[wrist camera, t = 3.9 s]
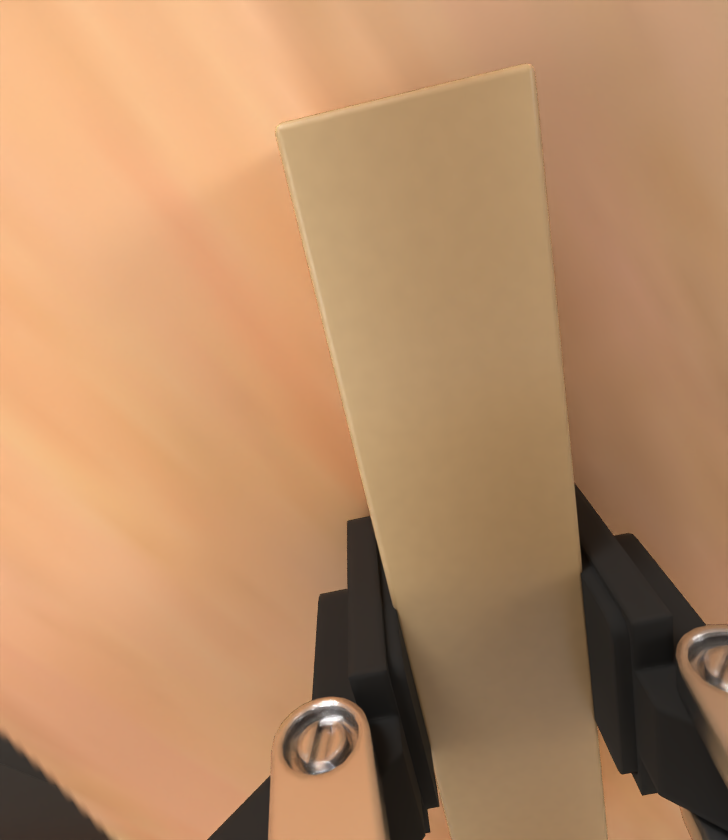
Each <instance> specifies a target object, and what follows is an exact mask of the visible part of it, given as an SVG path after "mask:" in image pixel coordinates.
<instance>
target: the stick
mask: <svg viewBox="0 0 728 840" xmlns="http://www.w3.org/2000/svg"><path fill="white" fill-rule="evenodd" d="M275 136H276V140H277V144H278V148H279V152H280V156H281V160H282V164H283V168H284V172H285V176H286V180H287V184H288V188H289V192H290V196H291V200H292V204H293V208H294V212H295V216H296V220H297V224H298V228H299V232H300V236H301V240H302V244H303V248H304V252H305V256H306V260H307V264H308V268H309V272H310V276H311V280H312V284H313V288H314V292H315V296H316V300H317V304H318V308H319V312H320V316H321V320H322V324H323V328H324V332H325V336H326V340H327V344H328V348H329V352H330V356H331V360H332V364H333V368H334V372H335V376H336V380H337V384H338V388H339V392H340V396H341V400H342V404H343V408H344V412H345V416H346V420H347V424H348V428H349V432H350V436H351V440H352V444H353V448H354V452H355V456H356V460H357V464H358V468H359V472H360V476H361V480H362V484H363V488H364V492H365V496H366V500H367V504H368V508H369V512H370V516H371V520H372V524H373V528H374V532H375V536H376V540H377V544H378V548H379V552H380V556H381V560H382V564H383V568H384V572H385V576H386V580H387V584H388V588H389V592H390V596H391V600H392V604H393V607H394V608H395V609H396V610H397V614H398V618H399V622H400V626H401V630H402V634H403V638H404V642H405V646H406V650H407V654H408V658H409V662H410V666H411V670H412V674H413V678H414V682H415V686H416V691H417V695H418V699H419V703H420V707H421V711H422V715H423V719H424V723H425V727H426V731H427V735H428V739H429V743H430V747H431V752H432V759H433V766H434V772H435V776H436V780H437V784H438V788H439V792H440V796H441V800H442V805H443V809H444V813H445V817H446V821H447V825H448V829H449V833H450V837H451V840H608V834H607V823H606V813H605V802H604V792H603V781H602V770H601V760H600V749H599V739H598V728H597V723H596V721H595V717H594V706H593V696H592V686H591V675H590V665H589V655H588V644H587V634H586V624H585V613H584V603H583V593H582V582H581V573H582V560H581V550H580V539H579V529H578V518H577V508H576V497H575V486H574V476H573V465H572V455H571V444H570V434H569V423H568V413H567V402H566V392H565V381H564V371H563V360H562V350H561V339H560V329H559V318H558V308H557V297H556V287H555V276H554V266H553V255H552V245H551V234H550V223H549V213H548V202H547V192H546V181H545V171H544V160H543V150H542V139H541V129H540V118H539V108H538V97H537V87H536V76H535V70H534V68H533V66H532V65H531V64H526V63H525V64H520V65H516V66H512V67H508V68H504V69H500V70H496V71H492V72H488V73H484V74H479V75H475V76H471V77H467V78H463V79H459V80H455V81H451V82H447V83H443V84H438V85H434V86H430V87H426V88H422V89H418V90H414V91H410V92H406V93H402V94H397V95H393V96H389V97H385V98H381V99H377V100H373V101H369V102H365V103H361V104H356V105H352V106H348V107H344V108H340V109H336V110H332V111H328V112H324V113H319V114H315V115H311V116H307V117H303V118H299V119H295V120H291V121H287V122H283V123H280V124H279V125H278V126H277V127H276V131H275Z"/></svg>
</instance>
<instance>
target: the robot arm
mask: <svg viewBox="0 0 728 840" xmlns="http://www.w3.org/2000/svg"><path fill="white" fill-rule="evenodd" d="M574 486H575V497H576V508H577V518H578V529H579V539H580V550H581V560H582V573H581V582H582V593H583V603H584V613H585V624H586V634H587V644H588V655H589V665H590V675H591V686H592V696H593V706H594V717H595V721H596V723H597V726H598V728H599V730H600V732H601V734H602V736H603V739H604V741H605V743H606V745H607V747H608V750H609V752H610V754H611V756H612V758H613V761H614V763H615V765H616V767H617V769H618V771H619V772H620V773H621V774H627V773H632V775H633V777H634V779H635V781H636V783H637V786H638V788H639V790H640V792H641V794H642V795H648V794H654V793H658V794H659V795H660V796H662V797H664V798H666V799H668V800H669V801H671V802H673V803H675V804H677V805H679V806H680V810H681V814H682V818H683V820H684V823H685V825H686V827H687V830H688V832H689V834H690V837H691V839H692V840H728V625H727V624H717V625H706V624H705V623H704V622H703V621H702V619H701V618H700V617H699V616H698V614H697V613H696V612H695V611H694V609H693V608H692V607H691V606H690V604H689V603H688V602H687V601H686V599H685V598H684V597H683V596H682V594H681V593H680V592H679V591H678V589H677V588H676V587H675V585H674V584H673V583H672V582H671V580H670V579H669V578H668V577H667V575H666V574H665V573H664V572H663V570H662V569H661V568H660V567H659V565H658V564H657V563H656V562H655V560H654V559H653V558H652V557H651V555H650V554H649V553H648V552H647V550H646V549H645V548H644V547H643V545H642V544H641V543H640V542H639V540H638V539H637V538H636V537H635V536H634V535H633V534H630V533H626V534H621V535H616V536H613V534H612V533H611V531H610V530H609V529H608V527H607V526H606V525H605V523H604V522H603V521H602V519H601V518H600V517H599V515H598V514H597V513H596V511H595V510H594V509H593V507H592V506H591V504H590V503H589V502H588V500H587V499H586V498H585V496H584V495H583V494H582V492H581V491H580V490H579V488H578V487H577V486H576V484H575V483H574ZM347 576H348V589H344V590H339V591H334V592H329V593H324V594H320V596H319V601H318V615H317V631H316V647H315V662H314V678H313V694H312V701H310V702H308V703H305V704H303V705H302V706H300V707H299V708H297V709H296V710H295V711H293V712H292V713H291V714H290V715H289V716H288V717H287V718H286V719H285V720H284V721H283V722H282V724H281V725H280V727H279V729H278V731H277V733H276V735H275V737H274V741H273V746H272V753H271V775H270V776H269V777H268V778H267V779H266V780H265V781H264V782H263V783H262V784H261V785H260V786H259V788H258V789H257V790H256V791H255V792H254V793H253V794H252V795H251V796H250V797H249V798H248V799H247V800H246V801H245V802H244V803H243V804H242V805H241V806H240V807H239V808H238V809H237V810H236V811H235V812H234V813H233V814H232V815H231V816H230V817H229V818H228V819H227V820H226V821H225V822H224V823H223V824H222V825H221V826H220V827H219V828H218V829H217V830H216V831H215V832H214V833H213V834H212V835H211V836H210V837H209V839H208V840H423V838H424V837H425V833H429V832H430V826H429V819H428V811H427V809H429V808H434V807H439V799H438V792H437V786H436V779H435V772H434V766H433V759H432V752H431V747H430V743H429V739H428V735H427V731H426V727H425V723H424V719H423V715H422V711H421V707H420V703H419V699H418V695H417V691H416V686H415V682H414V678H413V674H412V670H411V666H410V662H409V658H408V654H407V650H406V646H405V642H404V638H403V634H402V630H401V626H400V622H399V618H398V614H397V610H396V609H395V608H394V607H393V604H392V600H391V596H390V592H389V588H388V584H387V580H386V576H385V572H384V568H383V564H382V560H381V556H380V552H379V548H378V544H377V540H376V536H375V532H374V528H373V524H372V520H371V516H368V517H364V518H359V519H354V520H349V521H347Z"/></svg>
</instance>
